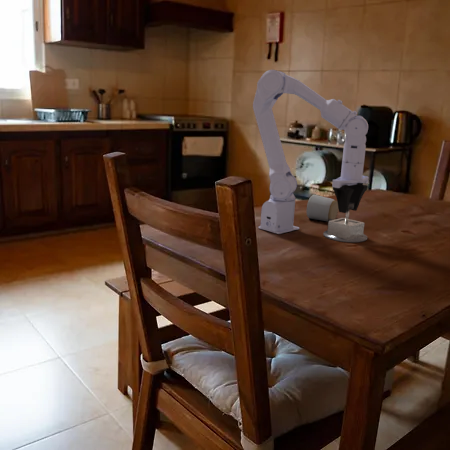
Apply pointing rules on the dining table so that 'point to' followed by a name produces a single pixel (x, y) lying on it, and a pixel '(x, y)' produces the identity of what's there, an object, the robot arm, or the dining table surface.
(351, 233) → the press
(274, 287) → the dining table surface
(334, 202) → the ceramic mug
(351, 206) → the plunger
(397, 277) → the dining table surface
